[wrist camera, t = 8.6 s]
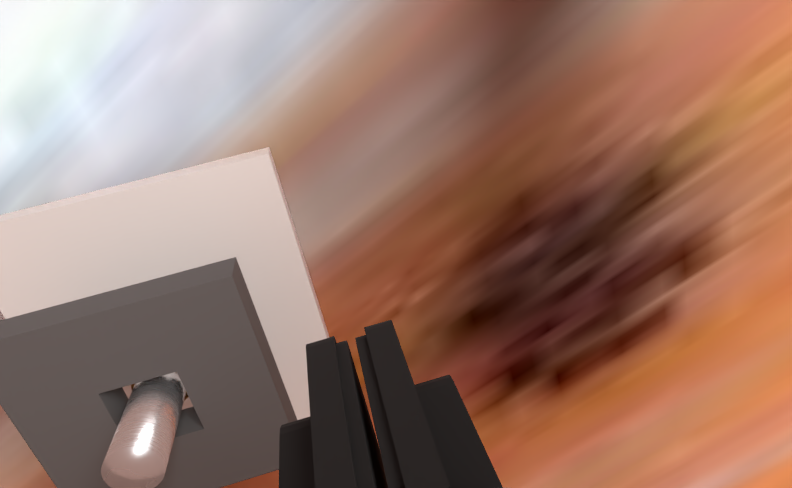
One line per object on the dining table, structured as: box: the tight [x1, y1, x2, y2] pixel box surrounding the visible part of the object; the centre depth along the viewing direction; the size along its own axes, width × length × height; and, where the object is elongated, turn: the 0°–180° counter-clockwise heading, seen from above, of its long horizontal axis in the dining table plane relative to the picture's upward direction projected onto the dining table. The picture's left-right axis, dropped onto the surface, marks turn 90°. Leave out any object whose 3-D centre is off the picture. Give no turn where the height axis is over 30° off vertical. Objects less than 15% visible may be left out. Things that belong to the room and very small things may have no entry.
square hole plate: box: [0, 257, 297, 488], centre depth 32 cm, size 14×14×2 cm
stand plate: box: [0, 147, 330, 420], centre depth 40 cm, size 22×20×2 cm
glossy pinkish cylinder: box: [101, 372, 188, 488], centre depth 33 cm, size 4×4×13 cm
